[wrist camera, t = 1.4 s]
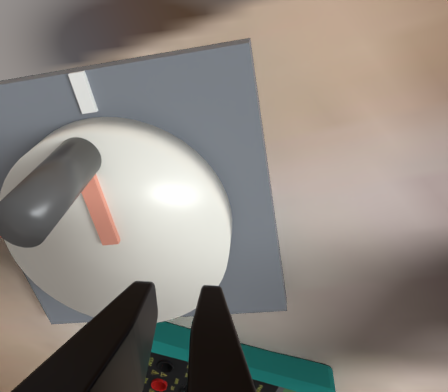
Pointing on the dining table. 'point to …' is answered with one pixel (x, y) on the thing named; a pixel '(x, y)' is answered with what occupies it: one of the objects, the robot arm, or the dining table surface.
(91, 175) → the dial
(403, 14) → the dining table surface
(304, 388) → the digital multimeter
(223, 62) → the base plate
